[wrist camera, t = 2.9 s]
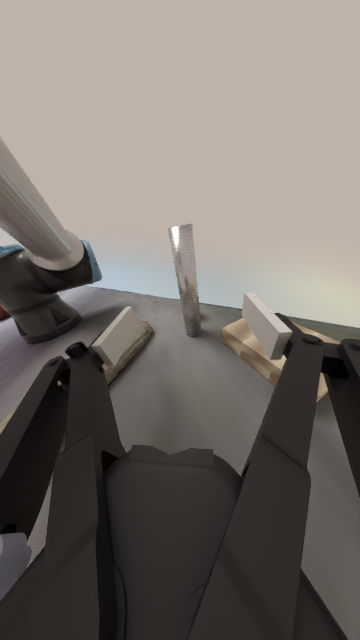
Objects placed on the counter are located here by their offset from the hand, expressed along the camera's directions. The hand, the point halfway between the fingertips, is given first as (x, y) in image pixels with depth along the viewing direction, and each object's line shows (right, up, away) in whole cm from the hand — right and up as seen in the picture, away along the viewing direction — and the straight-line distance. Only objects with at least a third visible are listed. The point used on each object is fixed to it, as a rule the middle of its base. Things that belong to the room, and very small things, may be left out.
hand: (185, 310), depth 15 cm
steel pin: (+3, -4, +14) cm, 15 cm away
